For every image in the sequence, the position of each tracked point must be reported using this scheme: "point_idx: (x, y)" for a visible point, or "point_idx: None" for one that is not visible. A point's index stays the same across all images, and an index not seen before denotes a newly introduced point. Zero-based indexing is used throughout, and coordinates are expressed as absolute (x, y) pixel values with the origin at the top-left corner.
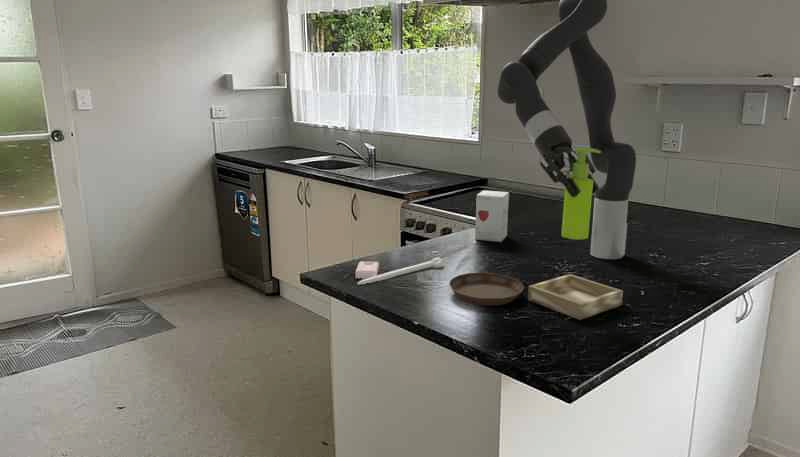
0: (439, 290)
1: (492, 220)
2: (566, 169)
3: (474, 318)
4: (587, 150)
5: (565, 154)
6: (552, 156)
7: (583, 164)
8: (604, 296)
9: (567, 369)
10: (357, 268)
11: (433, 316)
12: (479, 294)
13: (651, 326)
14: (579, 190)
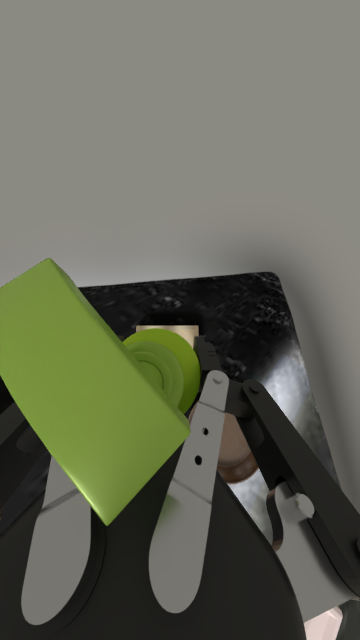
0: (258, 473)
1: None
2: (215, 407)
3: (268, 383)
4: (112, 338)
5: (177, 553)
6: (295, 597)
7: (163, 349)
8: (164, 326)
9: (262, 285)
10: (337, 632)
11: (297, 410)
12: (231, 429)
13: (162, 290)
14: (197, 336)
